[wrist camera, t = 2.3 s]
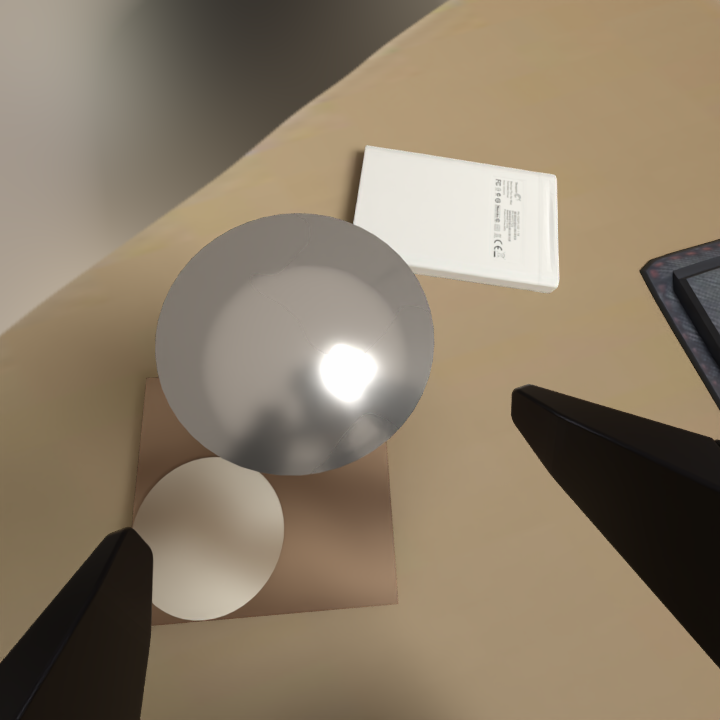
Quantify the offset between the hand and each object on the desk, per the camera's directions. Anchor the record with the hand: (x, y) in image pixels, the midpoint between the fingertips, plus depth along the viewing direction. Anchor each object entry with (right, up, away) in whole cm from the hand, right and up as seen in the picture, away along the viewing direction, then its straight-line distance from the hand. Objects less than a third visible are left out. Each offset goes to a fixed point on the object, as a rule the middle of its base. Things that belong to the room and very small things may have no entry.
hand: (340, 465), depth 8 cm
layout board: (-4, -4, +10) cm, 11 cm away
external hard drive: (+6, +11, +15) cm, 20 cm away
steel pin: (-1, -1, +10) cm, 10 cm away
